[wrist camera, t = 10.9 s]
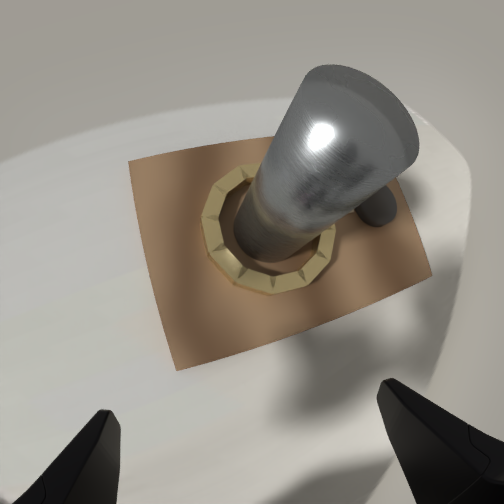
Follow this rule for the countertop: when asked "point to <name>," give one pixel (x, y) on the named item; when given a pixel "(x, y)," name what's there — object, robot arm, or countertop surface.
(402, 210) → the board
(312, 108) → the steel peg
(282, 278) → the brass ring
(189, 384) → the countertop surface
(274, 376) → the countertop surface
